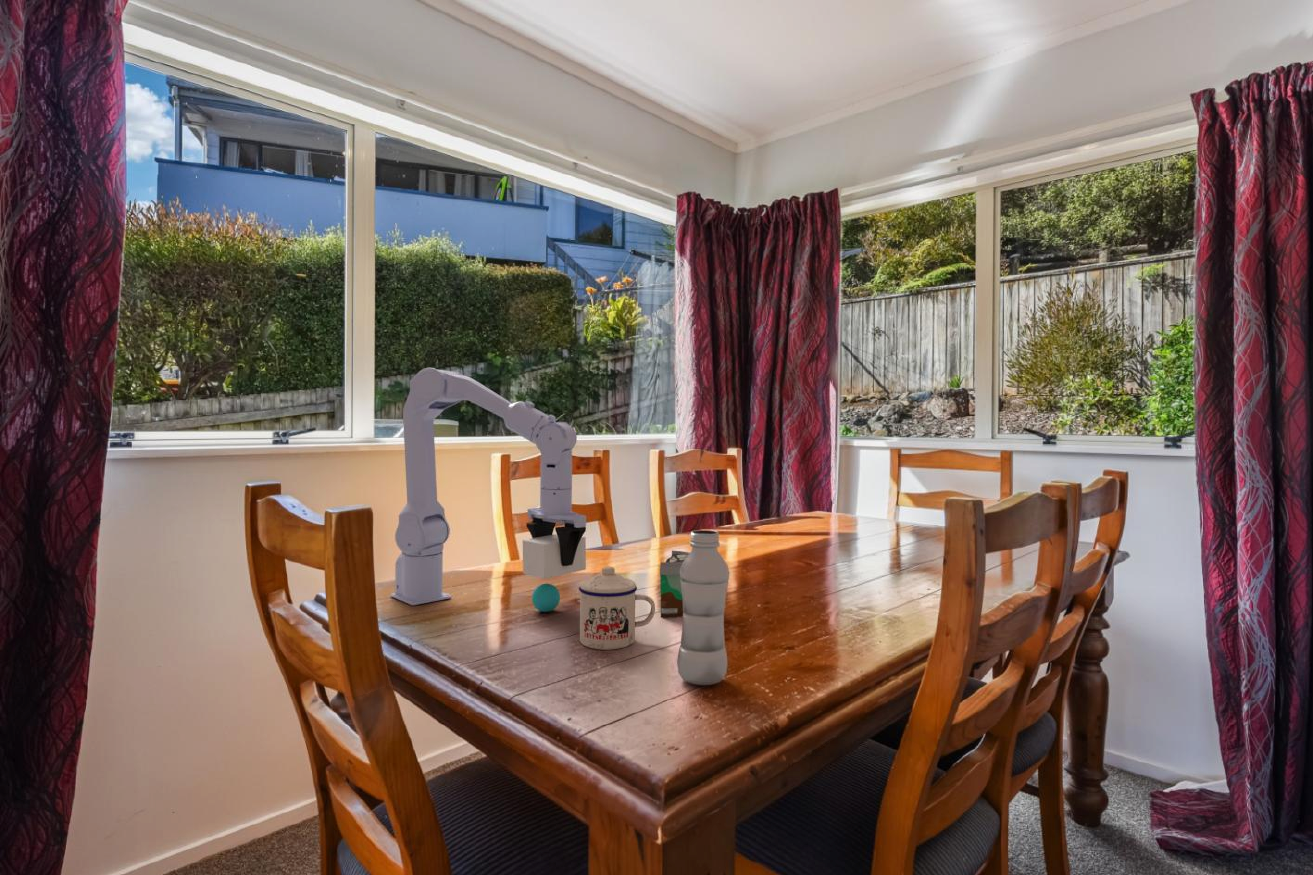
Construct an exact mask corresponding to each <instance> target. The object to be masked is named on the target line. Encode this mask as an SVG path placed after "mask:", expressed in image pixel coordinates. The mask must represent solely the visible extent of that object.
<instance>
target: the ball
mask: <svg viewBox="0 0 1313 875" xmlns="http://www.w3.org/2000/svg"><path fill="white" fill-rule="evenodd" d="M531 601H532V604H533V605H532V606H534V608H535V609H536V610H538V611H539V612H543V613H548V612H552V611H554V610H555V609H556V608H557V607H558V606H559V603H560V601H561V593H560V591H559V589H558V588H557V587H556V586H555V585H554V584H552V583H542V584H540V585H538V586H537V587H536V588H535V589H534V590H533V592H532V596H531Z"/></svg>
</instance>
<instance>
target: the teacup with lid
mask: <svg viewBox="0 0 1313 875" xmlns="http://www.w3.org/2000/svg"><path fill="white" fill-rule="evenodd" d="M615 570H616V569H615V567H613V566H604V567H603V566H602V569H601V572H600V573H597V574H595V575H594V576H592V577H591V578H586V579H584V580H582V581H581V582H580V584H579V587H578V591H579V594H580V596H579V597H580V599H579V600H580V601H579V602H580V603H579V606H580V607H579V641H580V643H581V644H582V645H583V646H585V647H587V648H589V649H595V650H603V651H605V650H606V651H607V650H608V651H610V650H619V649H623V648H627V647H629V646H631V645H632V644H634V642H635V640H636V628H640V627H644V626H647V625H648V624H649V623H650V622H651V621H652V620H653V618H654V616H655V613H656V604H655V601H654V599H653V598H652V597H650V596H649V595H647V594H636V592H637V590H638V587H637V586H638V585H637V584H636V582H635V581H634V580H632V579H630V578H626V577H625V576H622V575H621V574H619V573H617V572H616V571H615ZM641 600H642V601H646V602H647V603H648V604H650V611H649V614H648V615H647V617H646V618H644V619H642V620H639V621H636V601H641Z"/></svg>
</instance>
